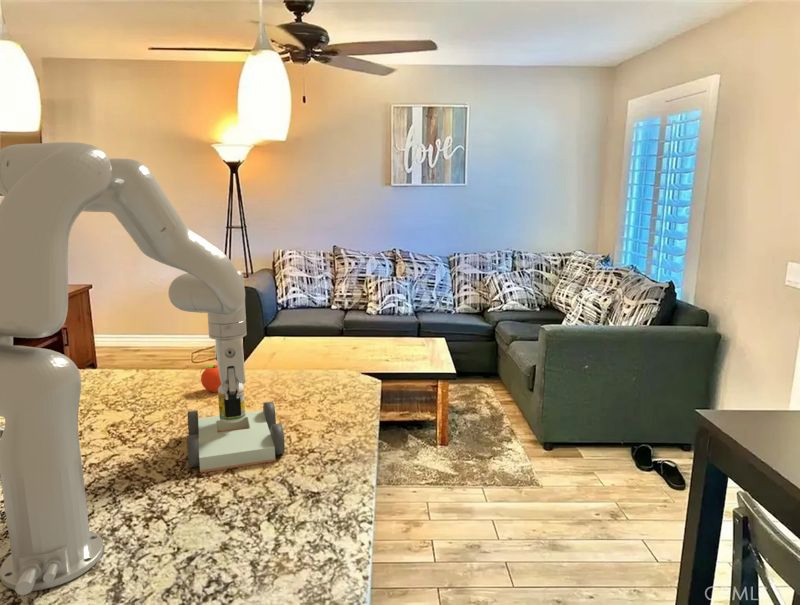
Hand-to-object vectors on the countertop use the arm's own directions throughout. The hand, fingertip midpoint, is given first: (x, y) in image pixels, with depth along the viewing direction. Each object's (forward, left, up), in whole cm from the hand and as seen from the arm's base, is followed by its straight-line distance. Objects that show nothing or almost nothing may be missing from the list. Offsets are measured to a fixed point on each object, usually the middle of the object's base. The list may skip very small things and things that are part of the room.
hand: (232, 410), depth 121 cm
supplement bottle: (0, 0, -2) cm, 2 cm away
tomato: (+32, +3, -7) cm, 33 cm away
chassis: (-4, 0, -6) cm, 7 cm away
